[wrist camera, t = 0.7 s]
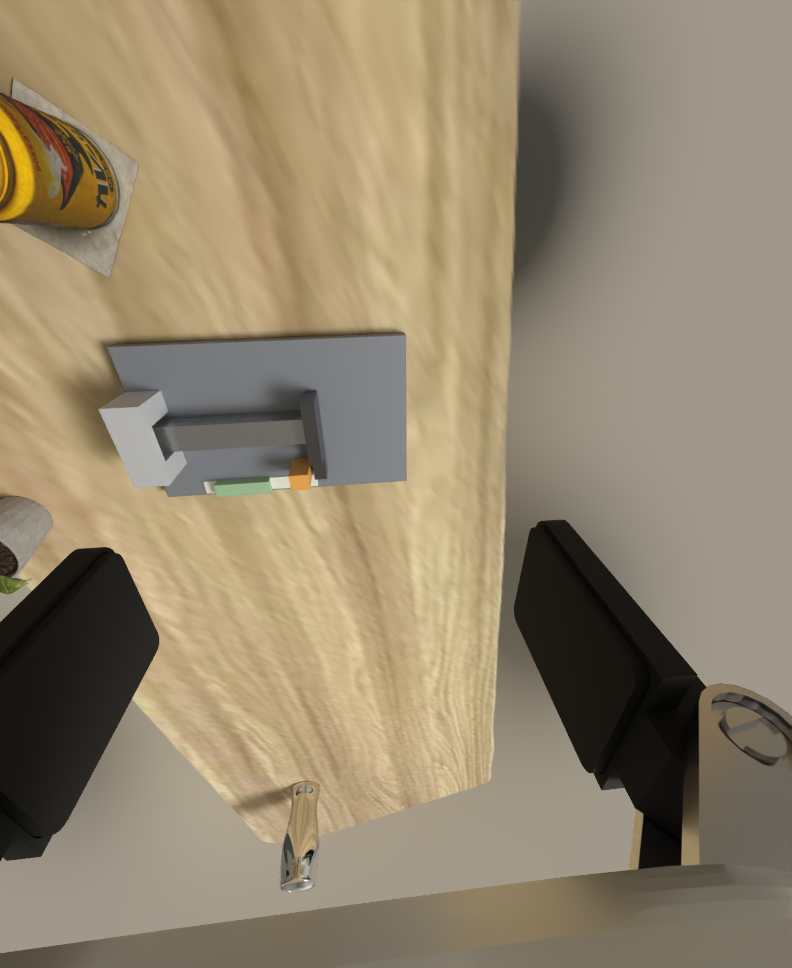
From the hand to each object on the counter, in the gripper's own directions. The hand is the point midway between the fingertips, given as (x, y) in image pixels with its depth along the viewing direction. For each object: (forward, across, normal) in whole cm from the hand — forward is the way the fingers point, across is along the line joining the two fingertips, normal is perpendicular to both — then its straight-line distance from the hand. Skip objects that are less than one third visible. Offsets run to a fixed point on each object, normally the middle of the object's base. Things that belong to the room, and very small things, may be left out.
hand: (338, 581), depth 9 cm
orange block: (+29, +6, +11) cm, 31 cm away
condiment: (+29, +19, -12) cm, 37 cm away
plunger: (+28, +11, +7) cm, 31 cm away
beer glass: (+34, +16, +90) cm, 98 cm away
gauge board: (+30, +8, +6) cm, 31 cm away
